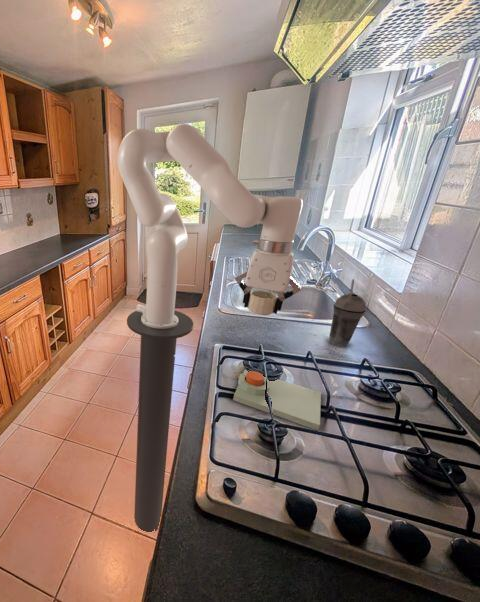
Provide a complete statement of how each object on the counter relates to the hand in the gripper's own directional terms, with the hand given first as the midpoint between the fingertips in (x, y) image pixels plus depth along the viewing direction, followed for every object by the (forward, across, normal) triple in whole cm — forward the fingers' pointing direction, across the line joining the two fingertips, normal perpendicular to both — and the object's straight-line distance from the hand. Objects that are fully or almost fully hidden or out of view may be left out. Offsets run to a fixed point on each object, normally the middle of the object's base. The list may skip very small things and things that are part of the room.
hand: (260, 308), depth 85 cm
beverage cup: (+12, +21, +16) cm, 29 cm away
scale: (+12, +9, -22) cm, 27 cm away
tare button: (+10, +4, -22) cm, 24 cm away
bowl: (+1, 0, 0) cm, 1 cm away
